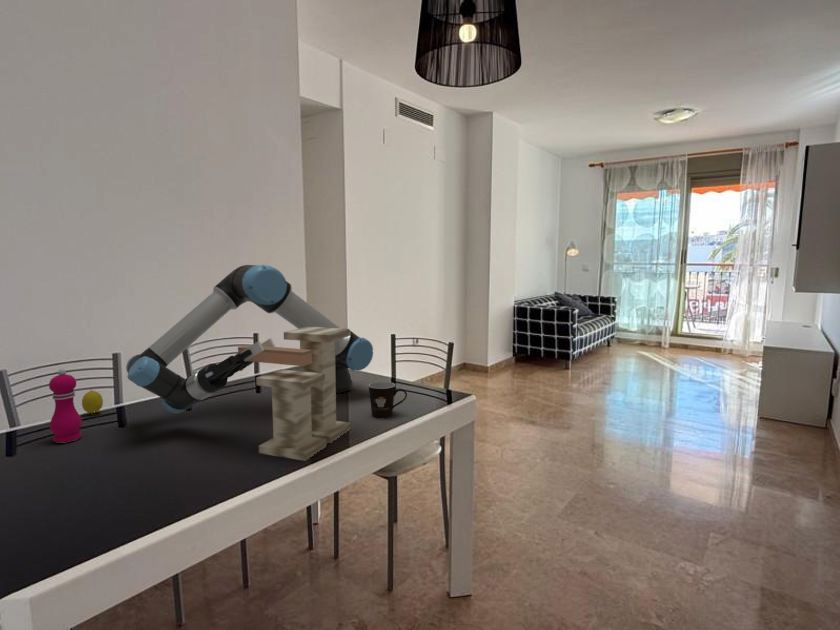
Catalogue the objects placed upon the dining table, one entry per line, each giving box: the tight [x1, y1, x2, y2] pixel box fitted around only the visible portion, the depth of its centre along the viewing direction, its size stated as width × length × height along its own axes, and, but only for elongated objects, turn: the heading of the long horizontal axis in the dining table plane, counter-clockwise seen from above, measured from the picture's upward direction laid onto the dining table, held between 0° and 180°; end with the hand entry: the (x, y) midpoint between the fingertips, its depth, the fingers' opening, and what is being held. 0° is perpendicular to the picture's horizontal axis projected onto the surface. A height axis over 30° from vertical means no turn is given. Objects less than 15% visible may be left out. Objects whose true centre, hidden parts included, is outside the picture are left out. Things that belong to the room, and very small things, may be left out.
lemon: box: [81, 389, 104, 414], centre depth 155 cm, size 6×6×8 cm
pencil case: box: [237, 344, 312, 367], centre depth 126 cm, size 20×4×4 cm, turn 70°
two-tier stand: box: [255, 327, 352, 462], centre depth 132 cm, size 14×24×30 cm, turn 160°
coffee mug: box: [368, 381, 408, 419], centre depth 154 cm, size 12×9×10 cm
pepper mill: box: [48, 368, 83, 443], centre depth 132 cm, size 7×7×20 cm
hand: (266, 344), depth 126 cm, fingers closed on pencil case, 4 cm apart
